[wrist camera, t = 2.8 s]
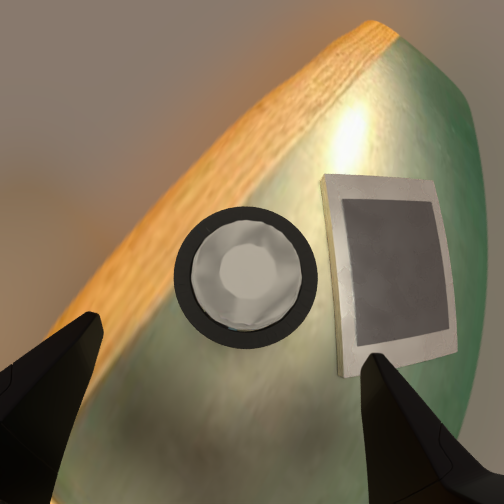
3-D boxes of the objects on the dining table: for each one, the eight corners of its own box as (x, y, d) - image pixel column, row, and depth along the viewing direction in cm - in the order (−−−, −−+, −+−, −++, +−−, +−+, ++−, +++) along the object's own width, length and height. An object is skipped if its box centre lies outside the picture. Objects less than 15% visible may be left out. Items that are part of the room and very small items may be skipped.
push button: (232, 225, 21) (235, 146, 11) (301, 261, 21) (360, 210, 11) (184, 311, 19) (140, 302, 10) (256, 350, 19) (282, 378, 10)
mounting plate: (448, 351, 20) (458, 351, 19) (337, 375, 19) (345, 378, 18) (425, 186, 23) (434, 179, 22) (319, 181, 22) (324, 172, 21)
